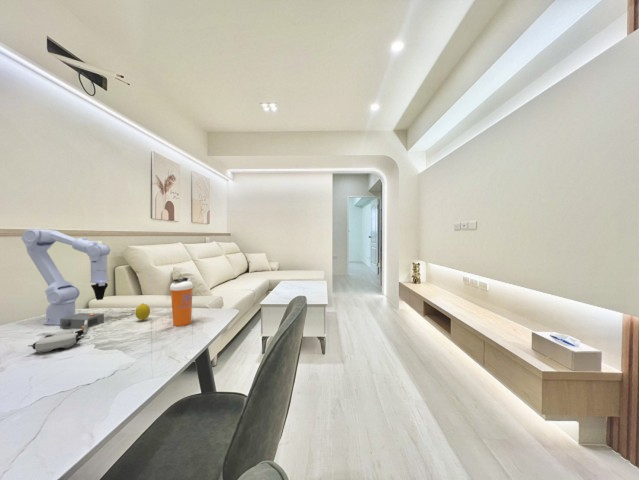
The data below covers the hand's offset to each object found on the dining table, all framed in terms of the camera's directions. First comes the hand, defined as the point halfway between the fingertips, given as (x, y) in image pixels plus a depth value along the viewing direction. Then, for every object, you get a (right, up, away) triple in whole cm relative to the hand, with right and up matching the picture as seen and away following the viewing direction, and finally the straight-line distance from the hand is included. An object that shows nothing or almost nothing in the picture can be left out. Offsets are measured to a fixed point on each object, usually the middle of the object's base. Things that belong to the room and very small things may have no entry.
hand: (99, 299), depth 115 cm
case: (-3, -10, -6) cm, 12 cm away
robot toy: (+9, -11, -26) cm, 30 cm away
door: (+6, -10, -13) cm, 17 cm away
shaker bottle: (+41, -10, -5) cm, 42 cm away
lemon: (+20, -10, 0) cm, 22 cm away
